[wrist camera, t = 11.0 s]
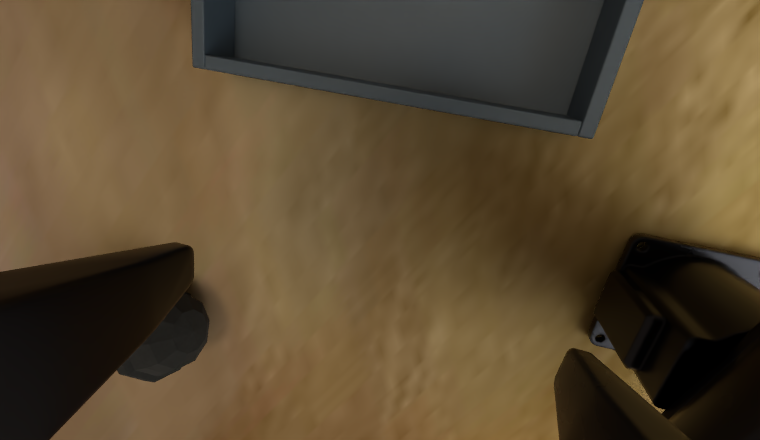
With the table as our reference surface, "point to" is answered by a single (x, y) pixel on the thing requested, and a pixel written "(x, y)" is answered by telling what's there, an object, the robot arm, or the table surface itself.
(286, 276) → the table surface
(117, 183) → the table surface
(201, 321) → the microphone
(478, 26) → the grey tray
